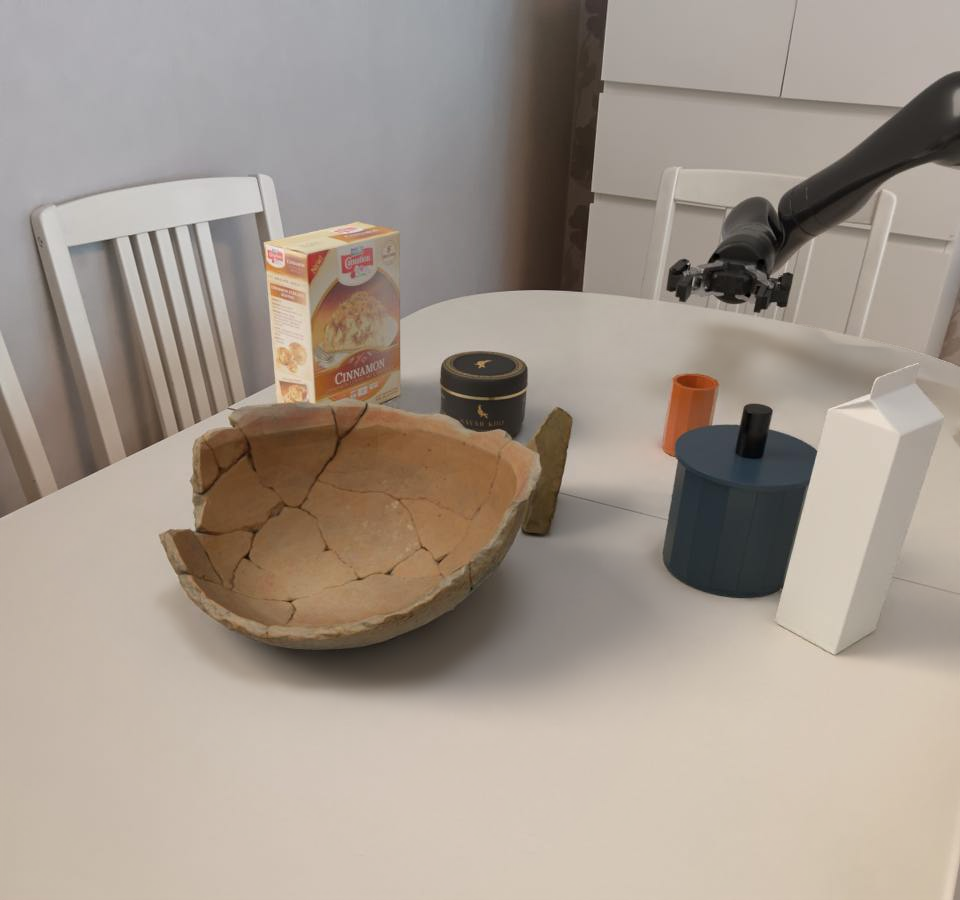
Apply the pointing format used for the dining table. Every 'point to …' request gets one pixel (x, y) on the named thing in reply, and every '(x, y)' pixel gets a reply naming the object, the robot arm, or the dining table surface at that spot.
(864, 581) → the milk
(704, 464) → the pot lid
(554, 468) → the rock
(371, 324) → the coffeecake box
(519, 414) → the jar
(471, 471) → the ceramic bowl
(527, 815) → the dining table surface
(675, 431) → the orange pipe segment
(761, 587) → the pot
